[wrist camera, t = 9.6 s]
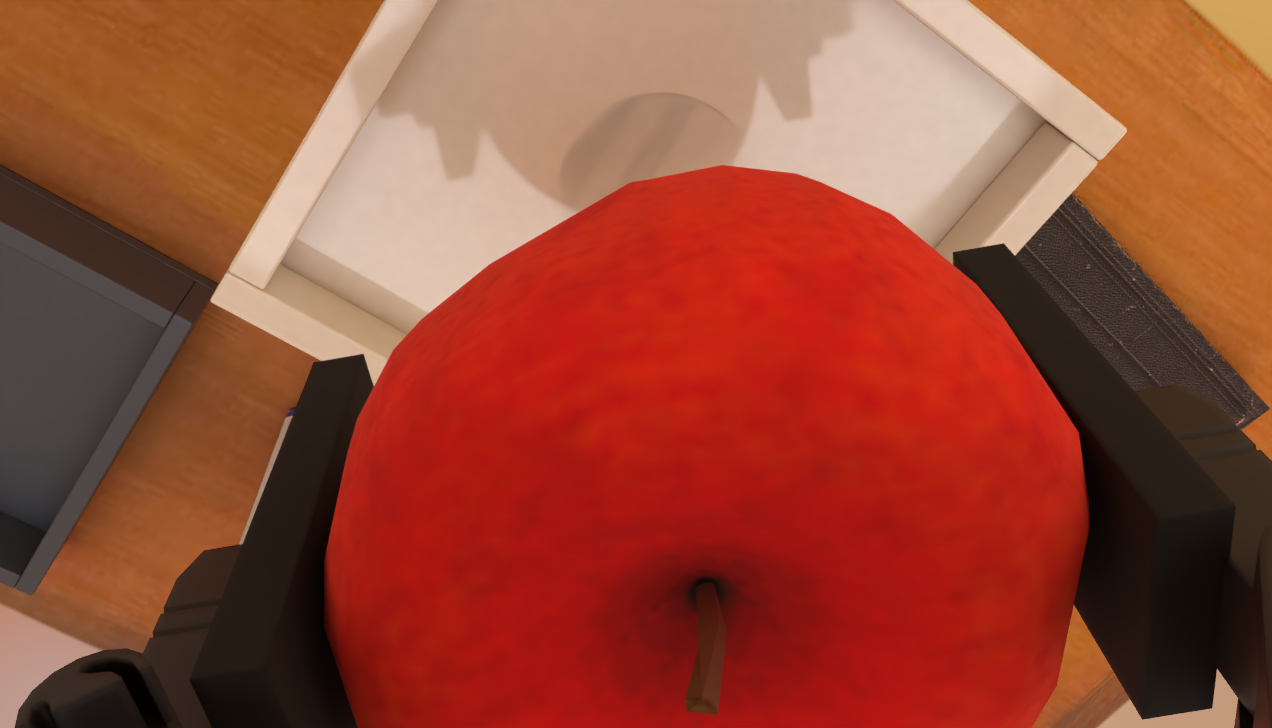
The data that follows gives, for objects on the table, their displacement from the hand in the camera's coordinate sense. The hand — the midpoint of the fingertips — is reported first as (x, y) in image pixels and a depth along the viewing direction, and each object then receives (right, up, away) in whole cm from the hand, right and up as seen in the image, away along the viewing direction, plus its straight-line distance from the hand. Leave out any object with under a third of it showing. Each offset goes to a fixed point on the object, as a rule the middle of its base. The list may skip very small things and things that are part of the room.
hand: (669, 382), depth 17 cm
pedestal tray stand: (-1, +13, +24) cm, 28 cm away
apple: (0, +1, +1) cm, 2 cm away
